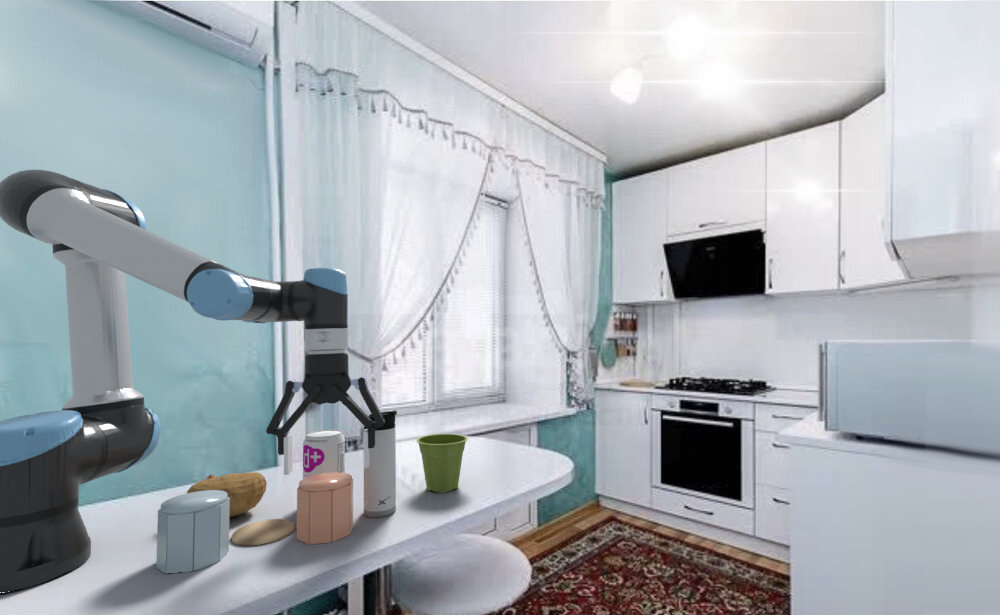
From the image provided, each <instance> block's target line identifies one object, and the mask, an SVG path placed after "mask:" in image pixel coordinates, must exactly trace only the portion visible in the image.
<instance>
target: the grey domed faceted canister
mask: <svg viewBox="0 0 1000 615" xmlns="http://www.w3.org/2000/svg"><path fill="white" fill-rule="evenodd" d="M227 495H228V494H227V492H225V491H221V490H206V491H197V492H192V493H187V492H186V493H183V494H180V495H176V496H174V497H173V496H172V497H171V498H169V499H166V500H164V501H163V502H162V503H160V508H158V510H157V525H156V526H157V528H156V530H157V532H156V535H157V536H156V563H155V564H156V565H155V567H157V568H156V569H158V570H159V571H160V570H161V572H162V573H163V572H164V573H163V574H165V575H169V574H168V573H173V574H179V573H178V572H183V573H192V572H196V571H199V570H201V569H203V568H206V567H209V566H212V565H214V564H217V563H219V562H221V560H222V559H223V558H225V556H226V555H225V554H226V553H227V554H228V553H229V551H230V518H229V511H230V498H229V497H227ZM195 570H196V571H195ZM191 571H192V572H191ZM166 573H167V574H166Z"/></svg>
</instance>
